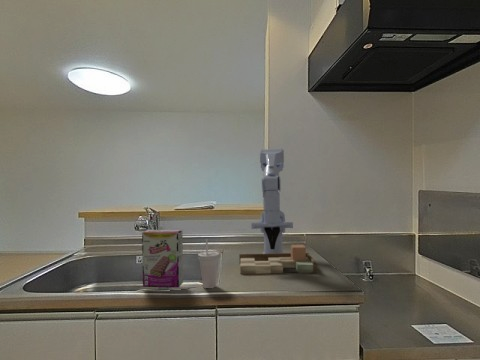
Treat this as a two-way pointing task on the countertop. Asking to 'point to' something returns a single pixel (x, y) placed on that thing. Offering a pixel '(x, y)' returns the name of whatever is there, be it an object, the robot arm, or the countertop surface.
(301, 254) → the block
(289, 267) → the cubby shelf
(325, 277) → the countertop surface
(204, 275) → the smoothie
